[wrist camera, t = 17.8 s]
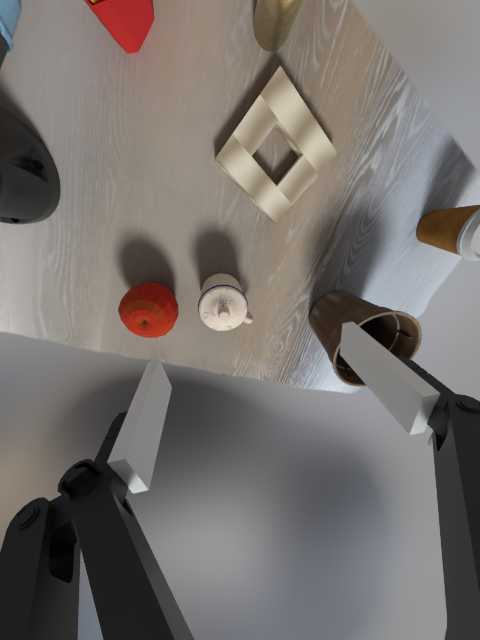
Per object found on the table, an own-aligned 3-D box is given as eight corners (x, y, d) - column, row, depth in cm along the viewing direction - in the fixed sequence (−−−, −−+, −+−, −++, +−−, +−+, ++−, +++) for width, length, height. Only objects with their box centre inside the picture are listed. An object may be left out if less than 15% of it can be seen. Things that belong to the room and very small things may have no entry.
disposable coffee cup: (423, 258, 48) (483, 273, 37) (399, 233, 45) (457, 242, 34) (461, 219, 45) (538, 223, 34) (438, 189, 41) (515, 184, 31)
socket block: (215, 160, 35) (215, 157, 33) (275, 75, 31) (280, 65, 29) (272, 222, 41) (276, 223, 39) (329, 156, 37) (337, 152, 35)
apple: (121, 297, 44) (94, 324, 34) (153, 265, 42) (135, 284, 32) (160, 327, 49) (146, 359, 39) (191, 300, 46) (185, 326, 36)
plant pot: (349, 266, 47) (408, 292, 33) (374, 315, 54) (432, 354, 40) (288, 310, 50) (318, 351, 36) (319, 351, 57) (354, 398, 43)
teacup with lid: (192, 297, 46) (186, 323, 36) (215, 262, 43) (216, 280, 33) (236, 323, 50) (242, 353, 40) (260, 294, 48) (273, 318, 37)
